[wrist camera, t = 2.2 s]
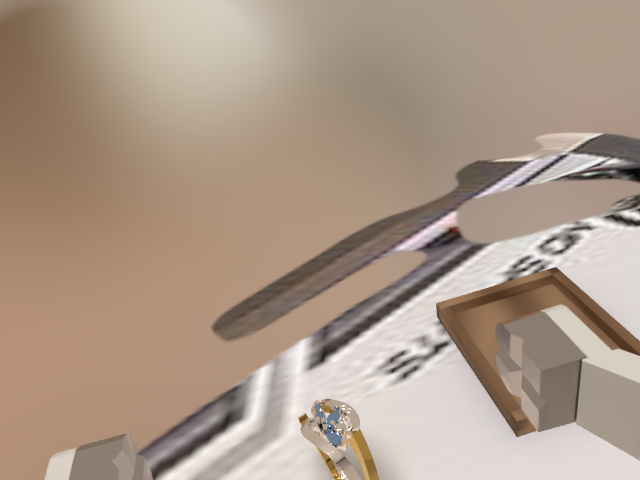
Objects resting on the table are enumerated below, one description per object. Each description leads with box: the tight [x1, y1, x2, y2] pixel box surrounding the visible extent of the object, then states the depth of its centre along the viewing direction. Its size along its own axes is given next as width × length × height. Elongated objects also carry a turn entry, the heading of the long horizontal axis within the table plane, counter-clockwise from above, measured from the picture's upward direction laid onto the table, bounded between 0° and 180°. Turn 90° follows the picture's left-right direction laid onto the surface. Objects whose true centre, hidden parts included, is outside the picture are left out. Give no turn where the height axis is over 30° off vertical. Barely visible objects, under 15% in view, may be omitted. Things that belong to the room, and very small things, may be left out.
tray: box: [436, 267, 640, 436], centre depth 41 cm, size 11×13×2 cm
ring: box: [298, 399, 379, 480], centre depth 31 cm, size 7×3×8 cm, turn 25°
